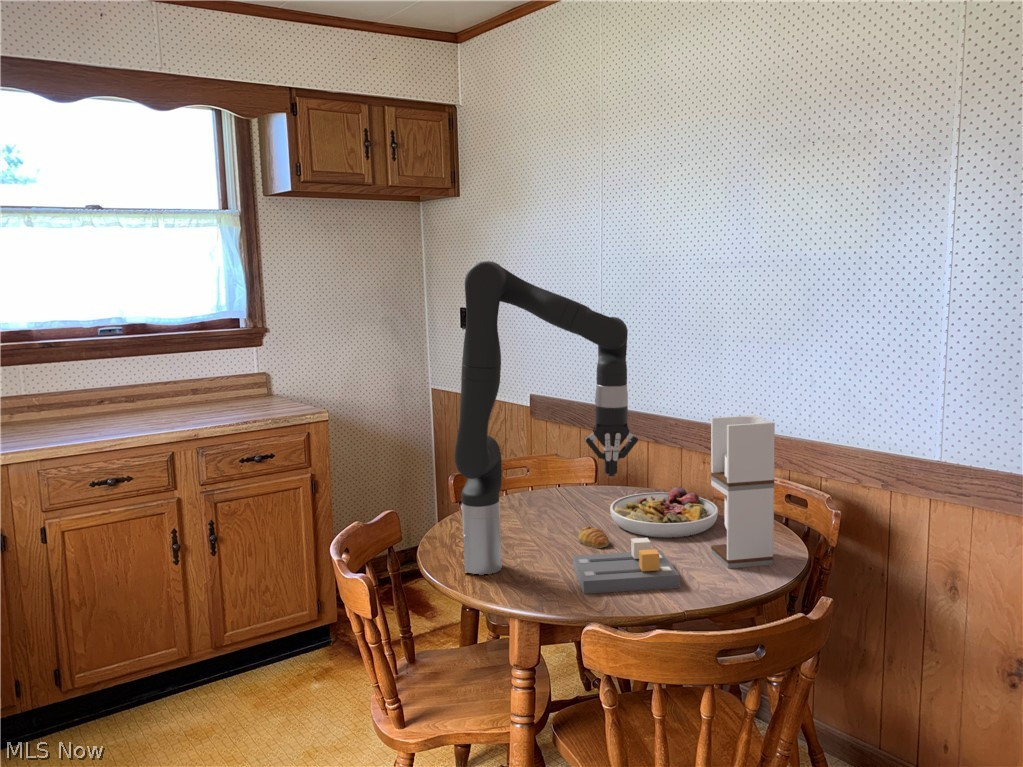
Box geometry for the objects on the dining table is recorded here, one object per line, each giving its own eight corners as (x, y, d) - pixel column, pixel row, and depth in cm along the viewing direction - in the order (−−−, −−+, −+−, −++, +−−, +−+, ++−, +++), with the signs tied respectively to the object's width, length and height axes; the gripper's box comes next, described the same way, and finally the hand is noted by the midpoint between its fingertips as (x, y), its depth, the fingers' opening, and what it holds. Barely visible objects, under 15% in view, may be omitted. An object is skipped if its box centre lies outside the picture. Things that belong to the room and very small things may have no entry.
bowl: (699, 548, 205) (699, 519, 204) (593, 532, 220) (592, 505, 219) (730, 515, 230) (730, 489, 229) (633, 503, 246) (633, 478, 244)
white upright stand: (753, 549, 202) (755, 414, 197) (773, 564, 191) (774, 422, 186) (711, 553, 200) (711, 417, 195) (728, 568, 190) (728, 425, 185)
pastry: (616, 546, 208) (615, 532, 207) (595, 552, 205) (594, 538, 204) (595, 536, 216) (595, 523, 216) (575, 541, 213) (574, 528, 212)
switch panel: (583, 593, 178) (583, 580, 178) (573, 567, 194) (572, 555, 194) (679, 587, 180) (679, 574, 179) (661, 562, 195) (661, 550, 195)
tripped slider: (642, 571, 181) (642, 554, 180) (639, 566, 184) (639, 550, 183) (659, 570, 181) (659, 553, 181) (656, 565, 184) (655, 549, 184)
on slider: (634, 558, 189) (633, 542, 188) (631, 554, 192) (631, 538, 191) (650, 557, 189) (650, 541, 189) (647, 553, 192) (647, 537, 192)
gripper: (585, 406, 180) (585, 480, 183) (643, 405, 181) (641, 479, 183) (580, 401, 187) (580, 472, 190) (636, 400, 188) (634, 470, 191)
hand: (610, 475), depth 187 cm, fingers closed
